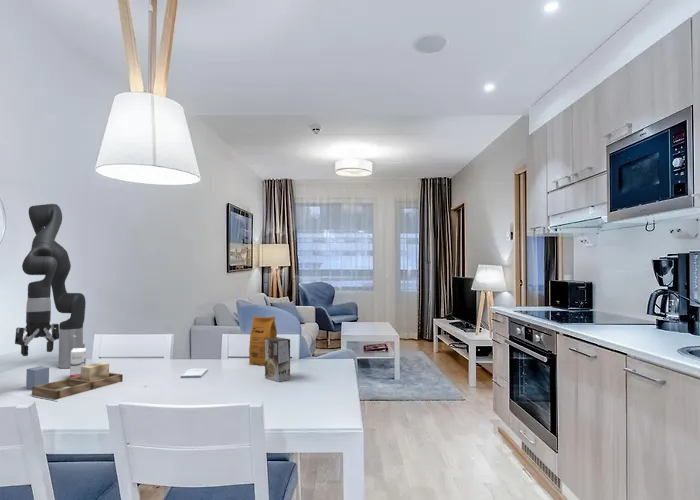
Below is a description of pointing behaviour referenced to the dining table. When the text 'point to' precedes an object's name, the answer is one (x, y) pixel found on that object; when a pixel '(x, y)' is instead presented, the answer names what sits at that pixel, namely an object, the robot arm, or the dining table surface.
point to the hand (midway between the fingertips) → (37, 353)
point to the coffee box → (277, 359)
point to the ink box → (77, 361)
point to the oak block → (95, 371)
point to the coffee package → (260, 338)
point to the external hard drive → (194, 373)
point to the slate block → (37, 376)
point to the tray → (73, 386)
